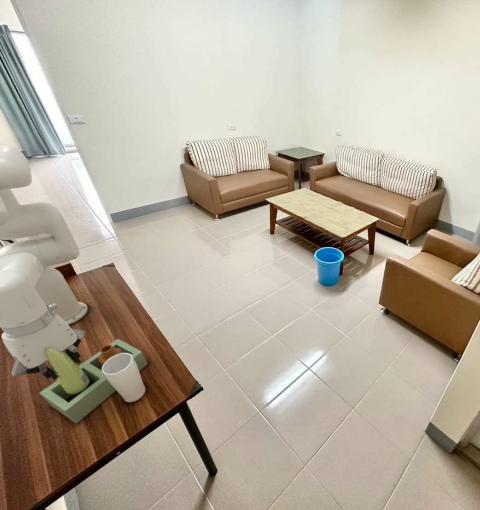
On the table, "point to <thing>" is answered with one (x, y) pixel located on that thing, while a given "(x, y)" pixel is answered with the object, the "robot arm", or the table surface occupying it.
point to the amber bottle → (108, 353)
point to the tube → (67, 371)
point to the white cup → (124, 376)
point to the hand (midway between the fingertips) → (64, 368)
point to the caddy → (92, 394)
